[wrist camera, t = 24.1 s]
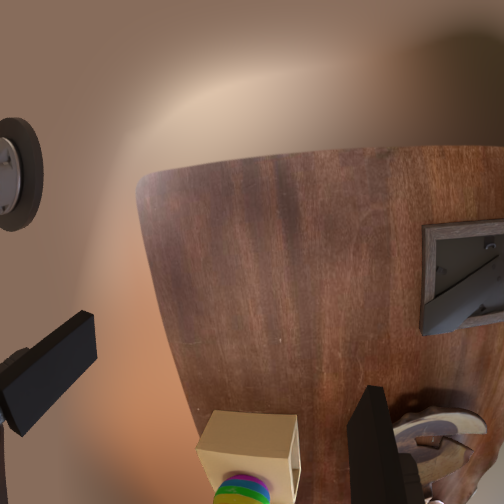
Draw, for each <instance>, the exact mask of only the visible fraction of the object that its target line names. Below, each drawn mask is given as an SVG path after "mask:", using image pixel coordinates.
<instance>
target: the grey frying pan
mask: <svg viewBox="0 0 504 504" xmlns="http://www.w3.org/2000/svg"><path fill="white" fill-rule="evenodd" d="M392 426H393V431H394V435H395V440H396V444H397V449H398V453H410V454H411V455H412V457H413V458H414V460H415V461H416V463H417V467H418V471H419V474H418V475H420V480H421V481H420V483H421V484H422V489H423V493H424V498H425V503H426V504H428V502H429V500H430V499H431V498H432V497H433V494H432V486H431V483H433V482H435V481H437V480H439V479H441V478H443V477H445V476H447V475H450V474H451V473H453V472H455V471H456V470H458V469H460V468H461V467H463V466H464V465H465V464H466V463H468V461H469V458H470V456H471V455H472V454H473V452H474V451H473V450H472V449H470V448H469V447H467V446H465V445H463V444H462V443H459V442H458V441H455V440H453V439H452V438H448V437H445V436H443V437H442V439H441V441H440V443H439V447H438V448H435V447H433V446H424V445H423V446H420V445H417V442H416V440H415V437H419V436H439V435H440V436H441V435H456V434H465V433H469V434H486V433H487V426H486V423H485V421H484V420H483V419H482V418H481V417H480V416H479V415H478V414H476V413H474V412H472V411H469V410H465V409H461V408H451V407H450V408H442V407H438V406H430V407H428V408H427V409H425V410H424V411H422V412H419V413H407V414H405V415H403V416H402V418H401V419H400V420H399V421H397V422H395V423H393V424H392ZM433 439H434V438H433ZM432 442H433V440H432Z"/></svg>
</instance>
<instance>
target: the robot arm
mask: <svg viewBox="0 0 504 504" xmlns="http://www.w3.org/2000/svg"><path fill="white" fill-rule="evenodd" d="M23 183H24V170H23V162H22V157H21V154H20V151H19V148H18V146H17V145H16V143H15V142H14V141H13V140H12V139H11V138H8V137H2V138H0V215H3V214H7V213H10V212H12V211H13V210H15V208H16V207H17V206H18V204H19V201H20V199H21V195H22V191H23ZM96 359H97V350H96V338H95V326H94V315H93V314H91V313H89V312H86V311H83V310H81V311H80V312H78V313H77V314H76V315H74V316H73V317H72V318H70V319H69V320H68V321H66V322H65V323H64V324H62V325H61V326H60V327H58V328H57V329H56V330H55V331H53V332H52V333H50V334H49V335H48V336H47V337H45V338H44V339H43V340H41V341H40V342H39V343H37V344H36V345H35V346H34V347H33V348H31V349H29V348H27V347H26V348H23V349H21V350H18V351H16V352H15V353H14V354H12V355H11V356H10V357H9V358H7V359H6V360H5V361H4V362H3V363H1V364H0V504H8V498H7V488H6V477H5V463H4V427H3V424H2V423H3V422H4V421H5V420H6V421H7V423H8V425H9V427H10V429H12V430H13V431H14V432H16V433H17V434H19V435H20V436H21V437H23V436H24V435H25V434H26V432H28V430H30V428H31V427H32V426H33V425H34V424H35V423H36V422H37V421H38V420H39V419H40V417H42V416H43V414H44V413H45V412H46V411H47V410H48V409H49V408H50V407H51V406H52V405H53V404H54V403H55V402H56V401H57V400H58V399H59V397H61V395H62V394H63V393H64V392H65V391H66V390H67V389H68V388H69V387H70V386H71V385H72V384H73V383H74V382H75V381H76V380H77V379H78V378H79V377H80V376H81V375H82V374H83V373H84V372H85V370H86V369H88V367H89V366H91V364H92V363H93V362H94V361H95V360H96ZM347 436H348V449H349V465H350V485H351V504H426V503H425V498H424V493H423V489H422V484H421V483H420V481H421V480H420V475H418V474H419V471H418V467H417V463H416V461H415V460H414V458H413V457H412V455H411V454H410V453H398V449H397V444H396V440H395V435H394V431H393V426H392V422H391V418H390V414H389V409H388V405H387V401H386V397H385V393H384V390H383V387H379V386H371V385H367V387H366V389H365V391H364V393H363V395H362V397H361V399H360V401H359V403H358V405H357V407H356V409H355V411H354V413H353V415H352V417H351V418H350V420H349V422H348V424H347Z"/></svg>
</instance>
